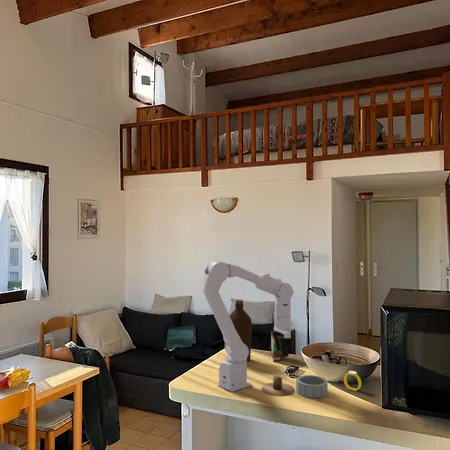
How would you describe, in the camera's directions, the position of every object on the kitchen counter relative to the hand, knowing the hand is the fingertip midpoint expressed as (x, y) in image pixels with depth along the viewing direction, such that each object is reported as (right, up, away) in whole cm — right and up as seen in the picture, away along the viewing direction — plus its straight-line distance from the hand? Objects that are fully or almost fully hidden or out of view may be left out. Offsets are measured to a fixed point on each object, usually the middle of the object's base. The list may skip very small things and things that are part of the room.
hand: (282, 353), depth 153 cm
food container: (+3, -11, +27) cm, 30 cm away
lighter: (+18, -10, +3) cm, 21 cm away
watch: (+23, -10, -8) cm, 26 cm away
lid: (-3, -10, -8) cm, 13 cm away
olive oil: (-15, -10, +25) cm, 31 cm away
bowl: (+8, -10, -11) cm, 17 cm away
